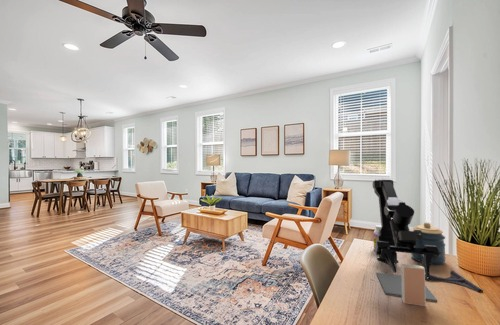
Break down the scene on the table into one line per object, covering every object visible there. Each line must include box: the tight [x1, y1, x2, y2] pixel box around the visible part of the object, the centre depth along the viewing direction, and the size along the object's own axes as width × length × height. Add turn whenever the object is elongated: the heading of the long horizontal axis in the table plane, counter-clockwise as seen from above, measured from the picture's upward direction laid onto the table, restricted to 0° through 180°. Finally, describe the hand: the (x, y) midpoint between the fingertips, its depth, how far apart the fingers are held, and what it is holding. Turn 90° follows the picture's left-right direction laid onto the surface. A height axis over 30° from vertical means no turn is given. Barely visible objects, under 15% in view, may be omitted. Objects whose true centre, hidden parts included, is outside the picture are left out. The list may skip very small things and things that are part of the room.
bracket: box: [425, 270, 484, 293], centre depth 89 cm, size 14×15×3 cm
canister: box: [410, 221, 447, 266], centre depth 109 cm, size 13×13×18 cm
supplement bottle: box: [373, 224, 381, 250], centre depth 122 cm, size 7×7×13 cm
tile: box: [400, 263, 427, 307], centre depth 75 cm, size 2×6×12 cm, turn 71°
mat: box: [375, 272, 438, 303], centre depth 86 cm, size 16×15×1 cm
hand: (411, 274), depth 77 cm, fingers open, 9 cm apart
